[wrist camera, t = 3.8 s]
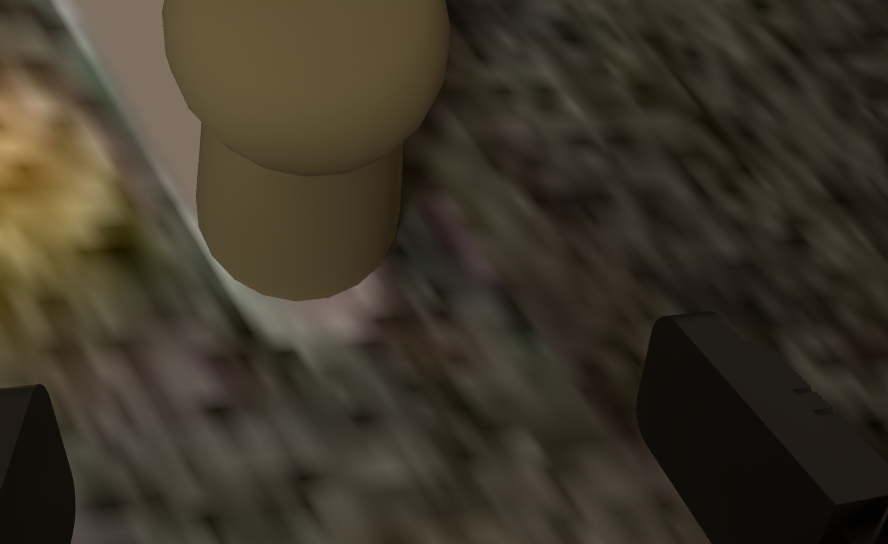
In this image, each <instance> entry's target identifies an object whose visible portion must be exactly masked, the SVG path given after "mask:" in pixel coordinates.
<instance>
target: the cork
mask: <svg viewBox="0 0 888 544" xmlns="http://www.w3.org/2000/svg"><path fill="white" fill-rule="evenodd" d="M162 15H163V27H164V39H165V50H166V56H167V59H168V62H169V66H170V69H171V71H172V73H173V76H174V78H175V79H176V82H177V84H178V86H179V88H180V91H181V93H182V95H183V97H184V99H185V101H186V103H187V105H188V108H189V109H190V110H191V111H192V112H193V113H194V114H195V115H196V116H197V117H198V118H199V119H200V121H201V122H202V125H201V139H200V152H199V164H198V177H197V190H196V202H197V213H198V224H199V229H200V231H201V233H202V235H203V237H204V239H205V242H206V244H207V246H208V248H209V250H210V252H211V255H212V256H213V257H214V258H215V259H216V260H217V261H218V262H219V264H220V265H221V266H222V267H223V268H224V269H225V270H226V271H227V272H228V273H229V274H230V275H231V276H232V277H233V278H234V279H235V280H237V281H239V282H241V283H242V284H244V285H246V286H248V287H250V288H252V289H254V290H255V291H257V292H259V293H261V294H263V295H267V296H272V297H277V298H282V299H287V300H293V301H302V300H311V299H320V298H329V297H331V296H333V295H336V294H338V293H340V292H342V291H345V290H347V289H349V288H351V287H354V286H356V285H358V284H359V283H360V282H361V281H362V280H364V279H365V278H366V277H367V276H368V275H369V274H370V273H371V272H372V271H374V270H375V269H376V268H377V267H378V266H379V265H380V264H381V263H382V261H383V259H384V257H385V255H386V254H387V252H388V250H389V248H390V247H391V245H392V243H393V241H394V239H395V237H396V231H397V226H398V220H399V214H400V207H401V187H402V166H403V146H404V140H405V139H407V138H408V137H409V136H410V135H411V134H412V133H414V132H415V131H416V130H417V129H418V128H419V127H420V125H421V124H422V122H423V120H424V118H425V117H426V115H427V113H428V112H429V110H430V108H431V106H432V105H433V103H434V101H435V100H436V98H437V96H438V94H439V92H440V90H441V87H442V85H443V83H444V80H445V74H446V68H447V63H448V57H449V51H450V45H451V36H450V24H449V18H448V12H447V7H446V1H445V0H164V5H163V11H162Z"/></svg>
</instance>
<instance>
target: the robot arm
mask: <svg viewBox="0 0 888 544" xmlns="http://www.w3.org/2000/svg"><path fill="white" fill-rule="evenodd" d="M636 413H637V421H638V425H639V429H640V432H641V435H642V437H643V439H644V442H645V443H646V445H647V446H648V448H649V450H650V451H651V453H652V454H653V456H654V457H655V459H656V460H657V462H658V463H659V465H660V466H661V468H662V469H663V471H664V472H665V474H666V475H667V477H668V478H669V480H670V481H671V483H672V484H673V486H674V487H675V489H676V490H677V492H678V493H679V495H680V496H681V498H682V499H683V501H684V502H685V504H686V505H687V507H688V508H689V510H690V511H691V513H692V515H693V516H694V518H695V519H696V521H697V522H698V524H699V525H700V527H701V528H702V530H703V531H704V533H705V534H706V536H707V537H708V539H709V540H710V542H711V543H712V544H888V463H887V462H886V461H885V460H884V459H883V458H882V457H881V456H880V455H879V454H878V453H877V452H876V451H875V450H874V449H873V448H872V447H871V446H870V445H869V444H868V443H867V442H866V441H865V440H864V439H863V438H862V437H861V436H860V435H859V434H858V433H857V432H856V431H855V430H854V429H853V428H852V427H851V426H850V425H849V424H848V423H847V422H846V421H845V420H844V419H843V418H842V417H841V416H840V415H839V414H838V413H835V414H833V412H832V407H831V406H830V405H829V404H828V403H827V402H826V401H825V400H824V399H823V398H822V397H821V396H820V395H819V394H818V393H817V392H812V391H811V386H810V385H809V384H808V383H807V382H806V381H804V380H803V379H802V378H801V377H800V376H799V375H798V374H797V373H796V372H795V371H794V370H793V369H792V368H791V367H790V366H789V365H788V364H787V363H786V362H785V361H783V360H782V359H780V358H778V357H776V356H775V355H773V354H771V353H770V352H768V351H766V350H764V349H763V348H761V347H759V346H758V345H756V344H754V343H752V342H745V341H744V340H743V339H742V338H741V337H740V336H739V335H738V334H737V333H736V332H735V331H734V330H733V329H732V328H731V327H730V326H729V325H728V324H727V323H726V322H725V320H724V319H723V318H722V317H720V316H719V315H718V314H717V313H715V312H711V311H707V312H698V313H689V314H680V315H671V316H663V317H660V318H659V319H658V320H657V321H656V322H655V324H654V326H653V329H652V333H651V337H650V342H649V347H648V351H647V356H646V360H645V365H644V369H643V374H642V378H641V383H640V388H639V392H638V397H637V404H636ZM74 523H75V489H74V482H73V477H72V473H71V469H70V466H69V462H68V459H67V455H66V452H65V449H64V445H63V442H62V438H61V435H60V431H59V428H58V424H57V421H56V417H55V414H54V410H53V407H52V403H51V400H50V397H49V394H48V392H47V390H46V388H45V387H44V386H43V385H41V384H36V385H27V386H18V387H9V388H0V544H71V539H72V534H73V529H74Z"/></svg>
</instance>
